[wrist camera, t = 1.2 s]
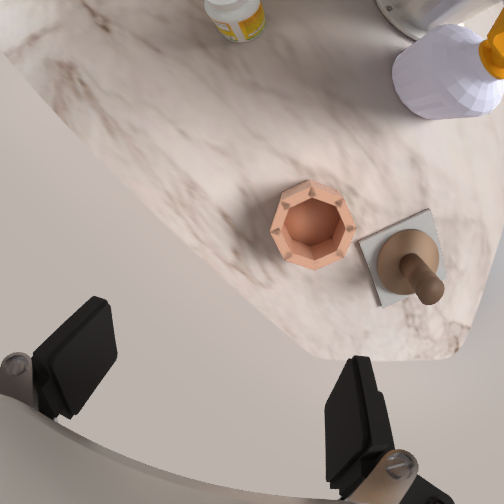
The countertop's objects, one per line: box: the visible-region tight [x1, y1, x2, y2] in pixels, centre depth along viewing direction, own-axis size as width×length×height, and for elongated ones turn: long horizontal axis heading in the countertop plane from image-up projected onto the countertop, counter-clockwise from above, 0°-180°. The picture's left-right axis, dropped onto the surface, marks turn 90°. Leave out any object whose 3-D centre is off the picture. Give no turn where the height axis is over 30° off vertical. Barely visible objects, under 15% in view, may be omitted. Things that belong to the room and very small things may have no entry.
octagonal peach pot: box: [270, 180, 357, 270], centre depth 31 cm, size 8×8×5 cm
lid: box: [377, 229, 444, 305], centre depth 29 cm, size 8×8×8 cm
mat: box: [358, 208, 447, 308], centre depth 33 cm, size 10×10×1 cm
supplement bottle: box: [204, 0, 266, 43], centre depth 21 cm, size 5×5×10 cm
